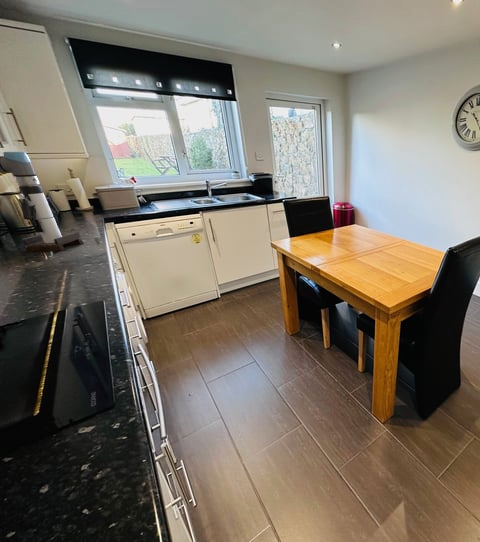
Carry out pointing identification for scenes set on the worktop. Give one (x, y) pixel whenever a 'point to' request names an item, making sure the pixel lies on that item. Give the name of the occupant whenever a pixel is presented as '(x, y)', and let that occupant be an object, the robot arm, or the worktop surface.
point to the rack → (39, 245)
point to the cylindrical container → (45, 217)
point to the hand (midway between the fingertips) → (48, 229)
